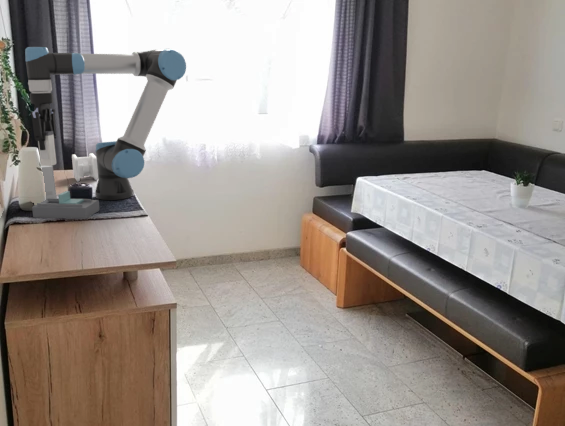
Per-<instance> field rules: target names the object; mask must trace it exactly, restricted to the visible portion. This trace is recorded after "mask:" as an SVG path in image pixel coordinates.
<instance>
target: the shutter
mask: <svg viewBox="0 0 565 426" xmlns="http://www.w3.org/2000/svg"><path fill="white" fill-rule="evenodd" d="M70 192H71V191H70V190H65V191H63V192H62V193H59V194H57V196H58V198H59V204H80V203H81V202H83V201H84V199H85V198H71V193H70Z"/></svg>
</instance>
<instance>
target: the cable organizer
mask: <svg viewBox="0 0 565 426" xmlns="http://www.w3.org/2000/svg"><path fill="white" fill-rule="evenodd" d="M71 160H72V161H71V162H72V173H73V174H72V175H73V178H74V180H75V181H76V182H78V183H79V182H80V180H81V178H85V177H92V178H93V179H94V180H95V181H98V168H97V158H96V154H94V153H93V152H91V153H89V154H88V156H80V157H79V156H77V155H76V154H75V153H74V154H71Z"/></svg>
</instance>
